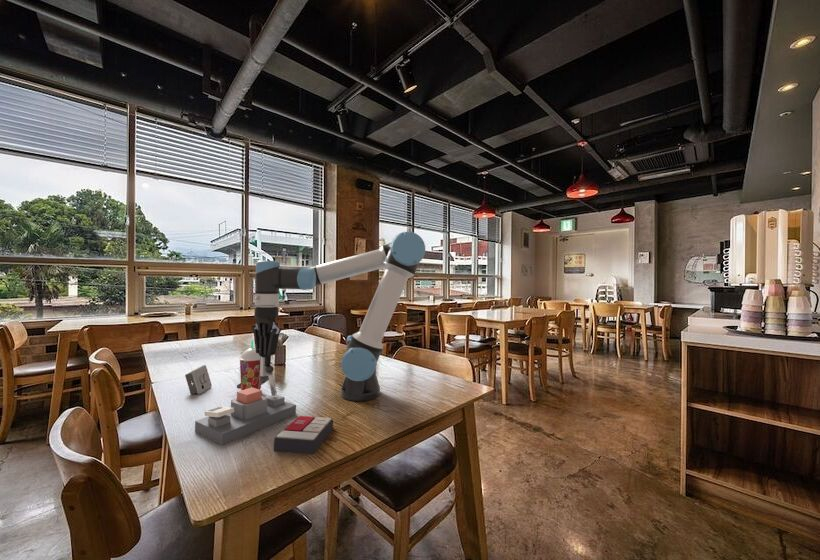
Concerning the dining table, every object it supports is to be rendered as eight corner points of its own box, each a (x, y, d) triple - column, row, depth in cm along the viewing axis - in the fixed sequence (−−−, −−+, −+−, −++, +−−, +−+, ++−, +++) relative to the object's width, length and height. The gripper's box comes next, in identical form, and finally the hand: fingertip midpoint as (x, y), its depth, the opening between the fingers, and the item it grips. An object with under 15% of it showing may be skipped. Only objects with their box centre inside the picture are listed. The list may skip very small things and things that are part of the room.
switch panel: (268, 404, 114) (269, 384, 114) (295, 414, 107) (296, 392, 107) (194, 431, 93) (195, 407, 93) (222, 445, 86) (223, 418, 86)
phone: (235, 386, 131) (254, 375, 146) (235, 388, 131) (254, 377, 146) (255, 386, 131) (271, 375, 146) (255, 389, 131) (271, 378, 146)
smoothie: (267, 389, 129) (268, 339, 129) (255, 397, 121) (256, 343, 121) (247, 388, 130) (248, 338, 130) (233, 396, 122) (235, 342, 122)
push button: (251, 399, 104) (252, 387, 104) (261, 403, 101) (261, 390, 101) (236, 404, 99) (236, 391, 99) (246, 408, 97) (246, 395, 97)
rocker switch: (220, 410, 96) (220, 406, 96) (234, 411, 93) (233, 407, 93) (204, 415, 92) (204, 411, 92) (218, 417, 89) (218, 412, 89)
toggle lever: (275, 395, 110) (269, 365, 111) (280, 394, 108) (274, 364, 110) (268, 397, 107) (263, 367, 109) (273, 396, 106) (267, 365, 108)
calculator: (333, 416, 98) (314, 438, 83) (333, 431, 98) (313, 455, 83) (298, 414, 99) (273, 435, 84) (298, 428, 99) (272, 452, 84)
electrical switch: (200, 395, 122) (198, 370, 122) (185, 396, 121) (183, 372, 121) (212, 387, 131) (210, 364, 131) (198, 388, 130) (196, 365, 130)
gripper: (245, 305, 111) (243, 374, 111) (268, 308, 104) (267, 381, 104) (264, 304, 117) (263, 369, 117) (288, 306, 111) (286, 375, 111)
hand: (265, 375), depth 111 cm, fingers closed
